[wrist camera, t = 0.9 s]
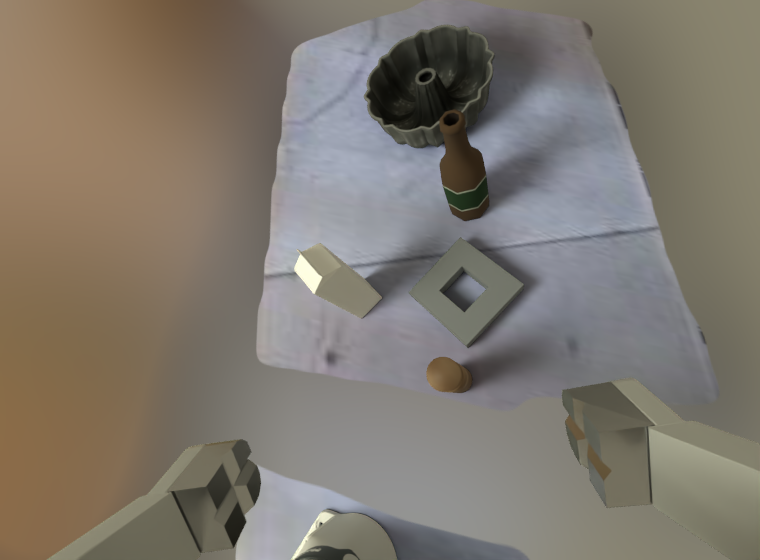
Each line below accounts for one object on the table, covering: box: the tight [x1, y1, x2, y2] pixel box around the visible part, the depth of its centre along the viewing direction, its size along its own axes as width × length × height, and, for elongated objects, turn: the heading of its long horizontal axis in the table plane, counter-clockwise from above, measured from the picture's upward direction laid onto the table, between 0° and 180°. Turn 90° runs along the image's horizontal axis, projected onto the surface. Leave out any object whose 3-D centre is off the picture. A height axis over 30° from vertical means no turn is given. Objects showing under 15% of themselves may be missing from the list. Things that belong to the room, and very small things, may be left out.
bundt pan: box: [364, 25, 494, 148], centre depth 75 cm, size 26×26×10 cm
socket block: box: [409, 237, 524, 348], centre depth 63 cm, size 14×14×3 cm
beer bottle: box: [439, 109, 489, 221], centre depth 59 cm, size 8×8×24 cm
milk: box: [294, 243, 382, 319], centre depth 61 cm, size 6×6×22 cm
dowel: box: [427, 357, 472, 393], centre depth 53 cm, size 4×4×16 cm
